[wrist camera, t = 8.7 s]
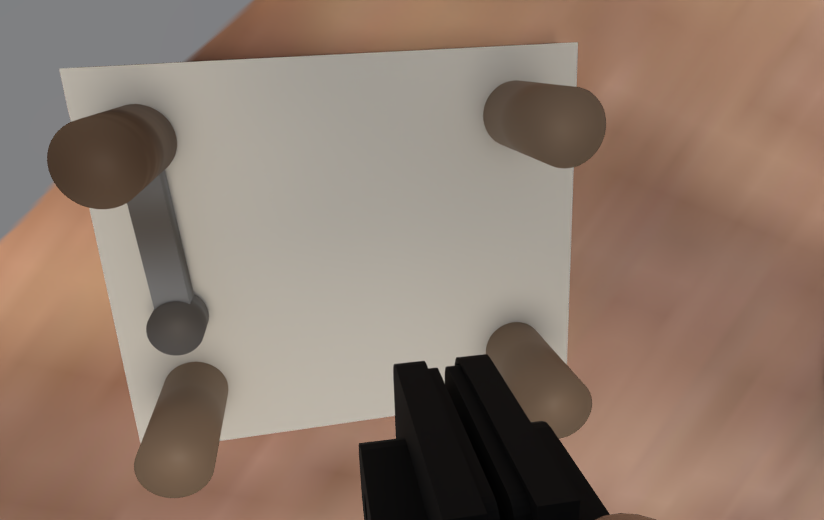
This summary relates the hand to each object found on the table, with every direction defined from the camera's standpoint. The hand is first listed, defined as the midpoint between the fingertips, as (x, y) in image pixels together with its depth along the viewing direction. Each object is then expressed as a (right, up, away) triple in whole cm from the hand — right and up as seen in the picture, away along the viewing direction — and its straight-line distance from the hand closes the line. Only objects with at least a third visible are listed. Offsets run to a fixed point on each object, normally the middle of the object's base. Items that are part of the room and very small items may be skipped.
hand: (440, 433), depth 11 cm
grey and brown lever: (-11, +4, +16) cm, 20 cm away
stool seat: (-4, +4, +21) cm, 22 cm away
